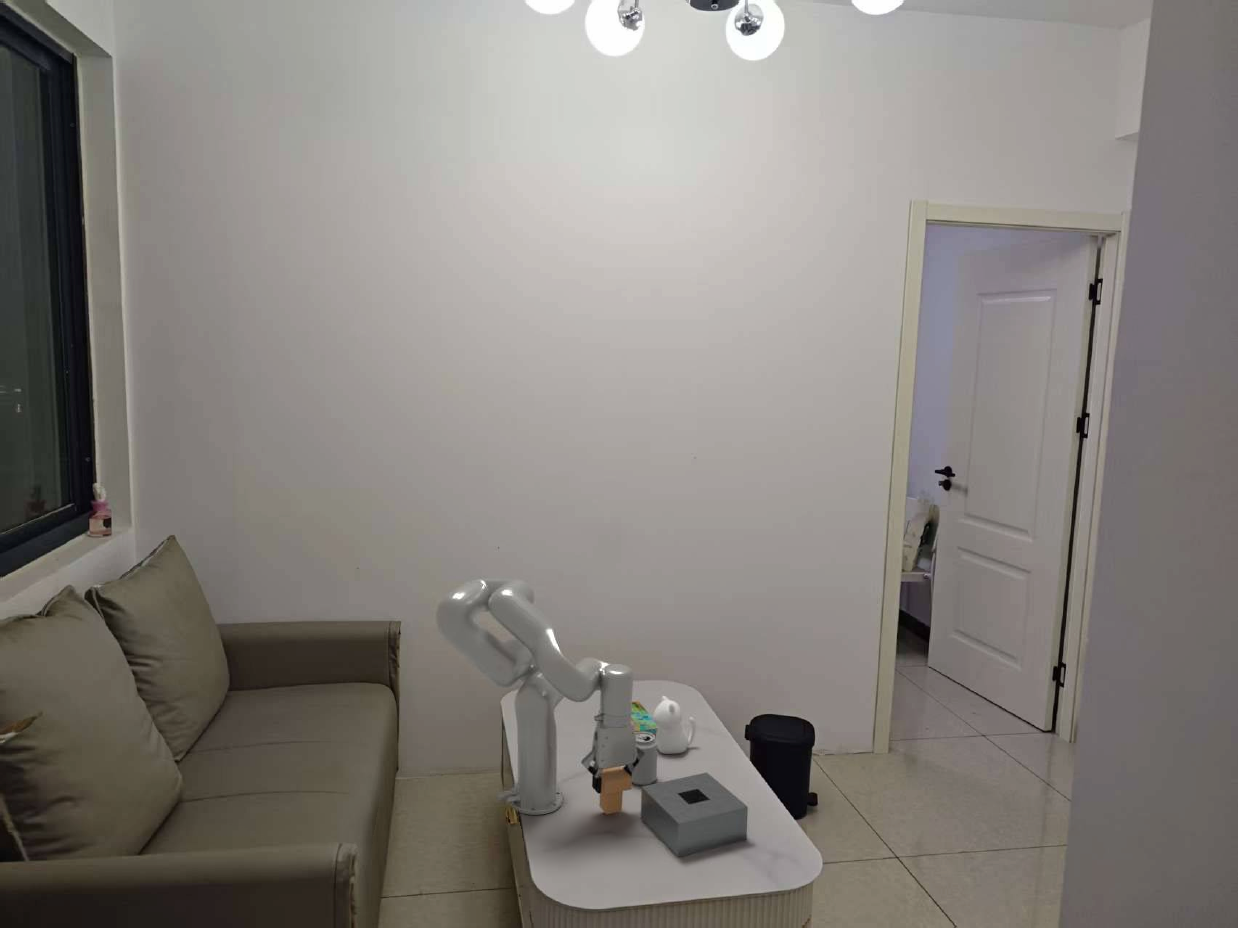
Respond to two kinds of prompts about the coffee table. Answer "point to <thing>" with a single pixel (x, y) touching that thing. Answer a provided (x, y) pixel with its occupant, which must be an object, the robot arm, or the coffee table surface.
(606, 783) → the tan cardboard box
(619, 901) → the coffee table surface
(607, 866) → the coffee table surface
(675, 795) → the grey square socket block
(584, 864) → the coffee table surface
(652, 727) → the puzzle game
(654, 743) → the can
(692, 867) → the coffee table surface
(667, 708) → the cat figurine
